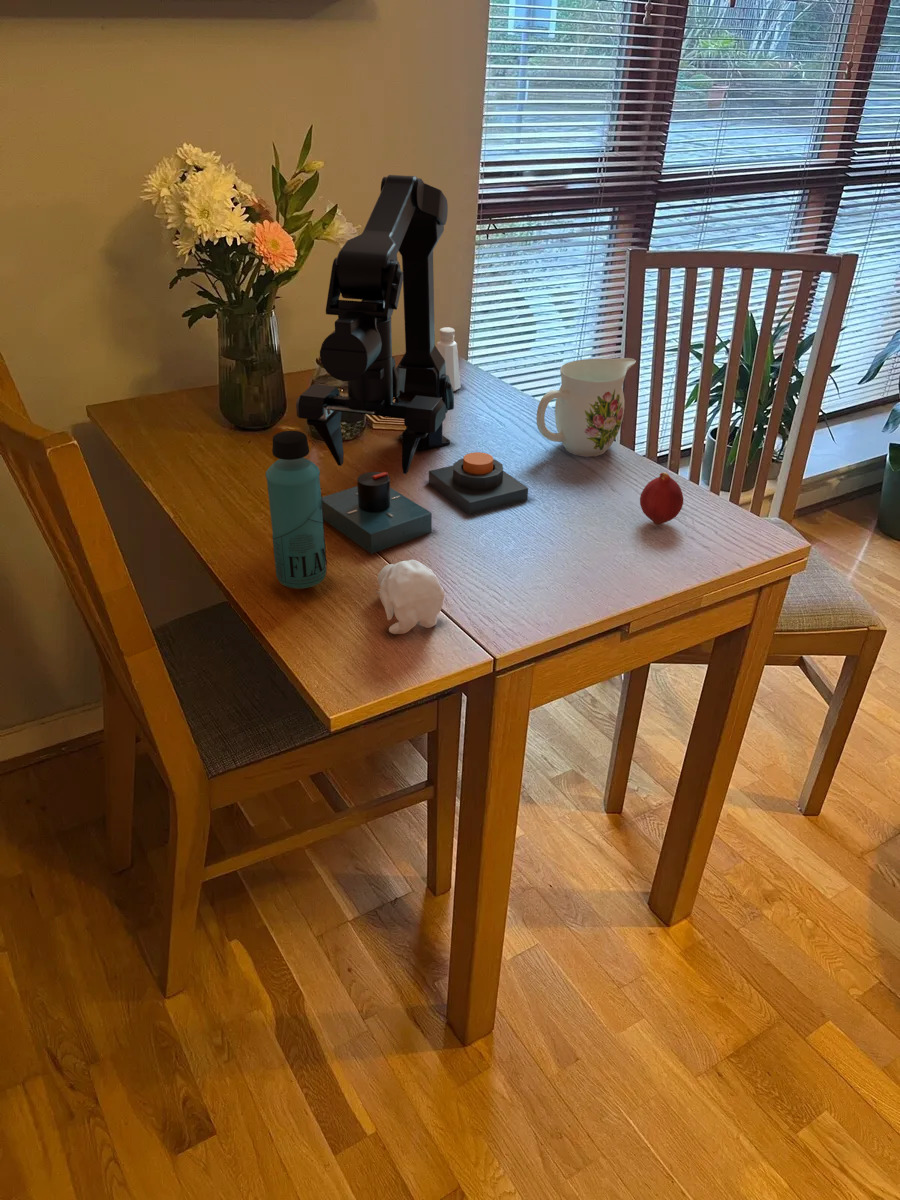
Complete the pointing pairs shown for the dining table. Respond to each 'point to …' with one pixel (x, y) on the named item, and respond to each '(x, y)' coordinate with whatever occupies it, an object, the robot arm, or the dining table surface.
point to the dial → (373, 491)
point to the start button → (478, 463)
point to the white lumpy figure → (410, 595)
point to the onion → (661, 499)
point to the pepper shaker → (450, 355)
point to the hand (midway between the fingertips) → (373, 468)
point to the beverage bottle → (296, 513)
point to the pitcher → (587, 405)
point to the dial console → (376, 520)
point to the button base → (478, 487)
